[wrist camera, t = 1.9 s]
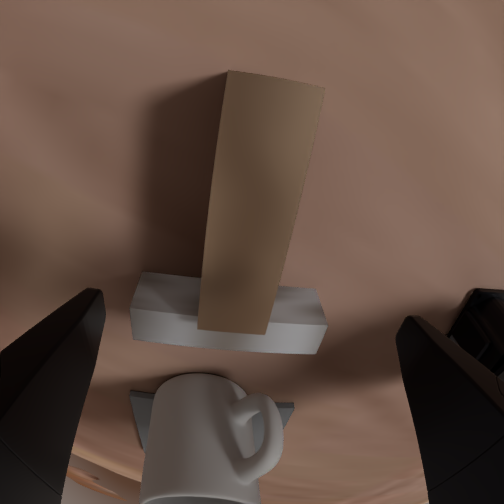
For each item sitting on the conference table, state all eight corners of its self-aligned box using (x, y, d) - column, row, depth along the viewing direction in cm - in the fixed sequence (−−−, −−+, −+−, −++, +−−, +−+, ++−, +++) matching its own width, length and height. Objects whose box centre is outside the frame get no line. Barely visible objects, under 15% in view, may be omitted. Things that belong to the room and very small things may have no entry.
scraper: (369, 100, 15) (411, 114, 11) (305, 316, 22) (318, 366, 18) (152, 65, 13) (124, 63, 9) (143, 301, 21) (129, 352, 17)
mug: (206, 439, 29) (207, 535, 19) (136, 402, 26) (116, 507, 16) (300, 382, 26) (330, 494, 16) (227, 330, 23) (234, 463, 13)
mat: (293, 402, 28) (294, 408, 27) (264, 457, 35) (265, 461, 34) (130, 390, 26) (129, 395, 25) (145, 448, 33) (144, 453, 32)
